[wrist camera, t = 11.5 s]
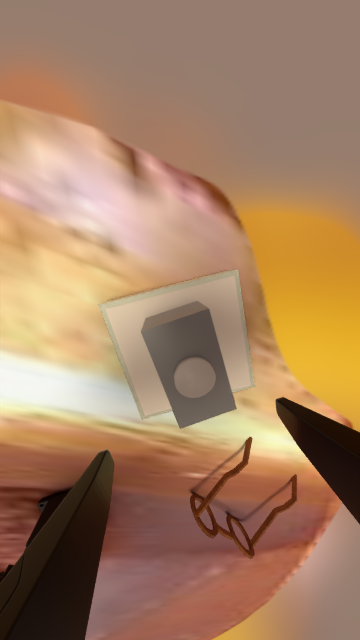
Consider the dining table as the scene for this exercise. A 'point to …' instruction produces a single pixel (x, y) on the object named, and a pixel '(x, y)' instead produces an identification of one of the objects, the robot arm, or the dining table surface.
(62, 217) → the dining table surface
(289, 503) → the glasses
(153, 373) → the stand
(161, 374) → the block
